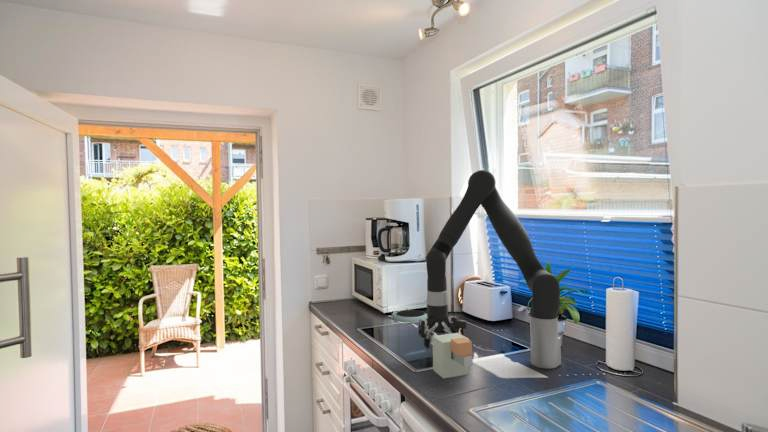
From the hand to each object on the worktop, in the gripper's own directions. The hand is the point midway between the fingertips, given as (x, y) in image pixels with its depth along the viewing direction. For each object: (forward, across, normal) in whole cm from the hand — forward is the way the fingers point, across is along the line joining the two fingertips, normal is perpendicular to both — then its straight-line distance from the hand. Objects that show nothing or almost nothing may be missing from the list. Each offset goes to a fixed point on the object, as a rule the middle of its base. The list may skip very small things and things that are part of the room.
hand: (438, 346), depth 158 cm
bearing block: (+6, 0, -10) cm, 12 cm away
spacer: (-3, 0, -18) cm, 18 cm away
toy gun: (+6, +21, +40) cm, 46 cm away
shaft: (0, 0, -8) cm, 8 cm away
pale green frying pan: (+6, +14, +66) cm, 68 cm away
